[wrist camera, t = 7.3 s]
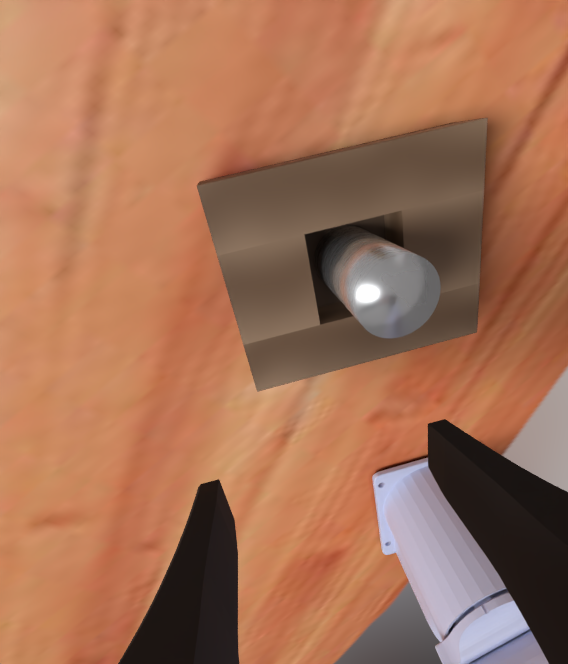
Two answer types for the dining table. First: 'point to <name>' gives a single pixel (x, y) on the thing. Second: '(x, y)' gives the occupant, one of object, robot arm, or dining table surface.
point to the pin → (378, 280)
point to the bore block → (337, 210)
